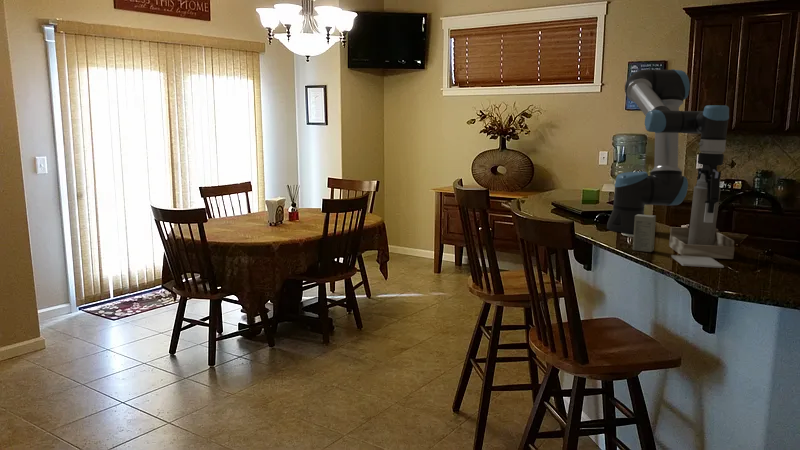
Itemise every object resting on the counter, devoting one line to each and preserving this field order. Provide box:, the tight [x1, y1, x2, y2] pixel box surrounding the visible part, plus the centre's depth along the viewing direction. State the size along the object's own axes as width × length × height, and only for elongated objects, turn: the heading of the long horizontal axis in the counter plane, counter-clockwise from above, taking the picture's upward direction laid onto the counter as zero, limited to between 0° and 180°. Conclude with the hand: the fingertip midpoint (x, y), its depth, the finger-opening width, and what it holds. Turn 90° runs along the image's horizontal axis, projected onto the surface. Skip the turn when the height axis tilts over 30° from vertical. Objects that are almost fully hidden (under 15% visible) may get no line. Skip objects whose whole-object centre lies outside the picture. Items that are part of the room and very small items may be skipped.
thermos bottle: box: [688, 171, 722, 246], centre depth 203 cm, size 8×8×28 cm
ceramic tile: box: [670, 254, 725, 269], centre depth 192 cm, size 12×12×1 cm
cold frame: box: [668, 226, 736, 260], centre depth 205 cm, size 16×16×7 cm
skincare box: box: [632, 214, 657, 253], centre depth 206 cm, size 6×4×12 cm
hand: (703, 220), depth 204 cm, fingers closed on thermos bottle, 8 cm apart
